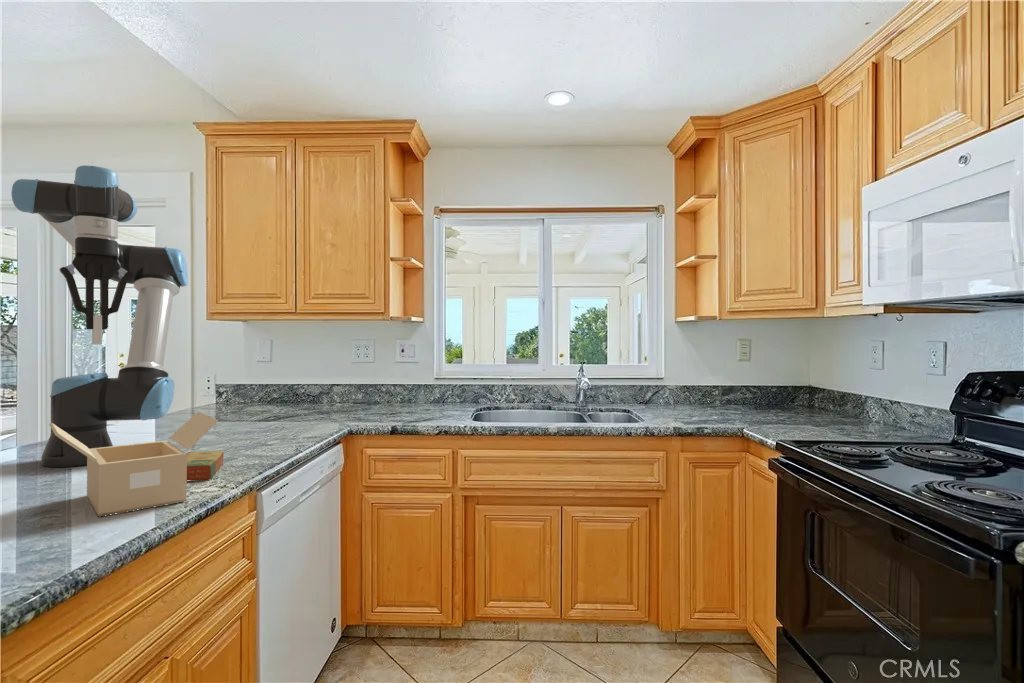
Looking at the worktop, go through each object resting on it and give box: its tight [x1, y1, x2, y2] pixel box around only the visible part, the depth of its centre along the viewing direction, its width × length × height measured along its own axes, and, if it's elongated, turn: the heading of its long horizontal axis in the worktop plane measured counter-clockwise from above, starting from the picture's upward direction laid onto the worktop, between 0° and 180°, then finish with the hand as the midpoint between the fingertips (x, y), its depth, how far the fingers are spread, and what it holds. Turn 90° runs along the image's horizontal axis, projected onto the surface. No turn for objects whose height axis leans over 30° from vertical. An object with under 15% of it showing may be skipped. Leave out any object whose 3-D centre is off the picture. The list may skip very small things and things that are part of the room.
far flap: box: [169, 411, 219, 451], centre depth 118 cm, size 15×8×1 cm
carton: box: [186, 450, 224, 481], centre depth 132 cm, size 8×16×4 cm, turn 19°
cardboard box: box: [86, 440, 188, 518], centre depth 110 cm, size 18×14×10 cm
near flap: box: [48, 422, 97, 462], centre depth 103 cm, size 15×8×1 cm
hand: (97, 344), depth 118 cm, fingers closed
